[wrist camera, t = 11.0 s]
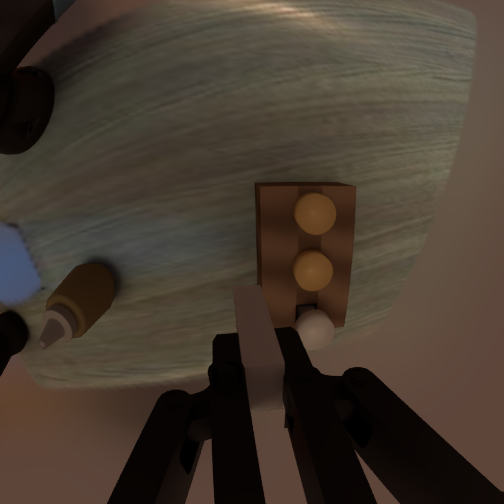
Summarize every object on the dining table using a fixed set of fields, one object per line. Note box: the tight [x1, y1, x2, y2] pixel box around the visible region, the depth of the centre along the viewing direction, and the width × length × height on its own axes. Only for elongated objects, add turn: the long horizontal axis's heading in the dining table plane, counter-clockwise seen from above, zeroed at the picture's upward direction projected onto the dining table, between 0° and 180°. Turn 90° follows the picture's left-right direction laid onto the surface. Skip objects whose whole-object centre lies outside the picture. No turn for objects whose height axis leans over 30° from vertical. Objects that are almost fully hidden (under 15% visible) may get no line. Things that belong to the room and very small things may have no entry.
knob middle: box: [292, 249, 333, 291], centre depth 37 cm, size 5×5×8 cm
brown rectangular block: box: [255, 182, 356, 329], centre depth 38 cm, size 20×12×6 cm, turn 2°
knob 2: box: [295, 304, 335, 350], centre depth 36 cm, size 5×5×8 cm
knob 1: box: [292, 192, 336, 235], centre depth 34 cm, size 5×5×8 cm
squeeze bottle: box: [38, 263, 114, 349], centre depth 31 cm, size 8×8×18 cm
